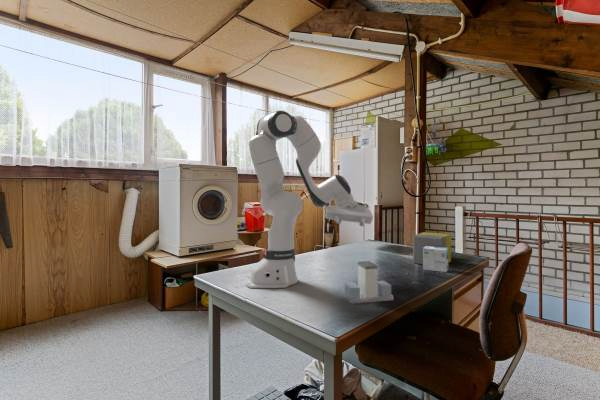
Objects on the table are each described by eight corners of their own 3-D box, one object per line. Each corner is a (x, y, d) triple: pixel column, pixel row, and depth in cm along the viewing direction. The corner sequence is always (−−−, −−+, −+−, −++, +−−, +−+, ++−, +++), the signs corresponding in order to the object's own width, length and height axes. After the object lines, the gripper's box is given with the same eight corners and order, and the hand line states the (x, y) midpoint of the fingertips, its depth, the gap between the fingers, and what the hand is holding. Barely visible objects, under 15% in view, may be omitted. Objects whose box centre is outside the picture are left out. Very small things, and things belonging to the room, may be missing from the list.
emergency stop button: (455, 259, 172) (456, 232, 171) (442, 268, 154) (442, 238, 153) (428, 255, 182) (428, 230, 181) (412, 263, 163) (412, 235, 163)
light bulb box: (448, 269, 151) (448, 247, 151) (446, 272, 145) (446, 249, 145) (425, 266, 157) (425, 245, 156) (422, 269, 151) (422, 247, 151)
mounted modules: (350, 298, 109) (350, 288, 109) (344, 292, 115) (344, 283, 114) (391, 294, 112) (391, 285, 112) (383, 289, 118) (383, 280, 117)
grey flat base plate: (351, 303, 107) (351, 299, 107) (342, 295, 116) (342, 291, 116) (393, 300, 111) (393, 295, 111) (382, 292, 119) (382, 288, 119)
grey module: (365, 297, 109) (365, 266, 109) (357, 290, 116) (357, 261, 116) (377, 296, 110) (377, 265, 110) (369, 290, 117) (369, 261, 117)
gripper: (324, 199, 138) (326, 213, 125) (370, 204, 139) (376, 219, 126) (322, 212, 141) (324, 227, 128) (367, 217, 141) (373, 232, 129)
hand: (350, 223), depth 127 cm, fingers open, 8 cm apart
